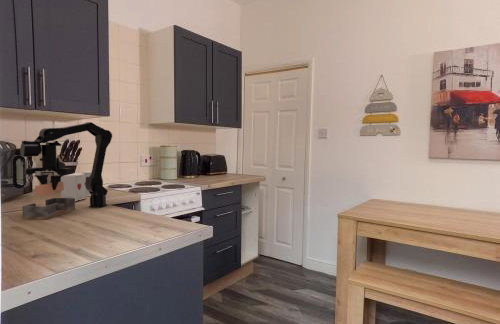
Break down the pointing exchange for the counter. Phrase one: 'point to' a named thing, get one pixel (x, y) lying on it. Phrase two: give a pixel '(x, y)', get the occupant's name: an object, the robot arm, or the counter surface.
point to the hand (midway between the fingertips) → (50, 190)
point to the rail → (48, 188)
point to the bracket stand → (48, 208)
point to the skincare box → (87, 174)
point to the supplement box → (73, 186)
